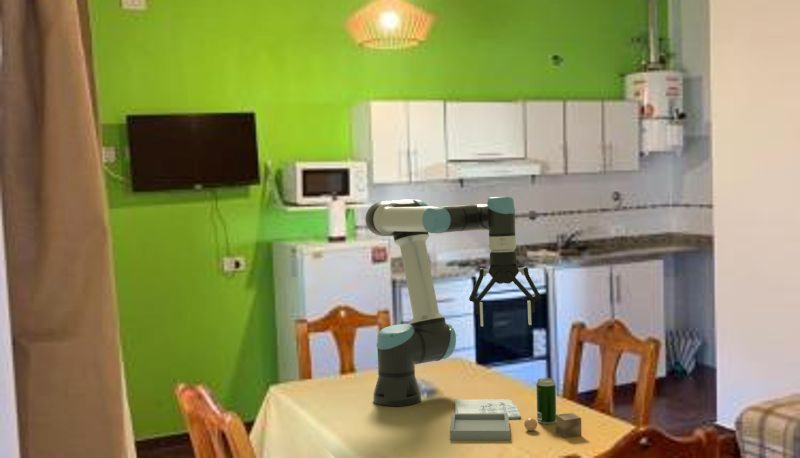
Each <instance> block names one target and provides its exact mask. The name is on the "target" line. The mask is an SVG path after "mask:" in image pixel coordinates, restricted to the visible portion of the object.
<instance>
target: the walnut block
mask: <svg viewBox="0 0 800 458" xmlns="http://www.w3.org/2000/svg"><path fill="white" fill-rule="evenodd" d="M555 425H556V428H555V432H556V434H558V435H559V436H561V437H562V438H564V439H567V438H575V437H582V417H581V416H579V415H578V414H576V413H574V412H570V413H560V414H559V413H558V414H556V421H555Z"/></svg>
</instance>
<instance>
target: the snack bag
mask: <svg viewBox="0 0 800 458" xmlns="http://www.w3.org/2000/svg"><path fill="white" fill-rule="evenodd" d="M453 402H454V409H455V413H508V420H519V419H520V418H522V415H521V413H520V412H519V409H518V405H517V404H514V403H513V401H512V399H505V398H504V399H502V398H501V399H498V398H497V399H496V398H495V399H489V398H488V399H457V398H455V399H454V401H453Z"/></svg>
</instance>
